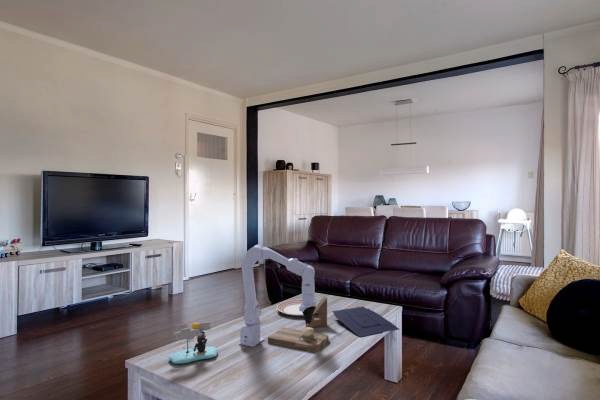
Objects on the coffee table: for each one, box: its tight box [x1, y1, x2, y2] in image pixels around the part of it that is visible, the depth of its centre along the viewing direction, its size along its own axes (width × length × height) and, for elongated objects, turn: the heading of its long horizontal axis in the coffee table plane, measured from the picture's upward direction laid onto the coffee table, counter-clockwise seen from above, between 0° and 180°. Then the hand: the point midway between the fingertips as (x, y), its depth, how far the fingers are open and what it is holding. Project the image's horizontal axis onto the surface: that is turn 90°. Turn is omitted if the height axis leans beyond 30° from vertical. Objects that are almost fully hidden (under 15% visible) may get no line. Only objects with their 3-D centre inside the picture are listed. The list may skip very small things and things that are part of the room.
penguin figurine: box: [168, 321, 219, 365], centre depth 155 cm, size 20×11×15 cm, turn 113°
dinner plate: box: [276, 299, 320, 317], centre depth 217 cm, size 28×27×3 cm
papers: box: [331, 306, 400, 338], centre depth 196 cm, size 24×30×4 cm
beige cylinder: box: [301, 327, 315, 340], centre depth 169 cm, size 5×5×6 cm
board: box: [267, 327, 329, 353], centre depth 172 cm, size 14×24×2 cm, turn 64°
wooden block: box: [305, 296, 328, 328], centre depth 193 cm, size 4×11×18 cm, turn 113°
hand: (308, 323), depth 169 cm, fingers closed
